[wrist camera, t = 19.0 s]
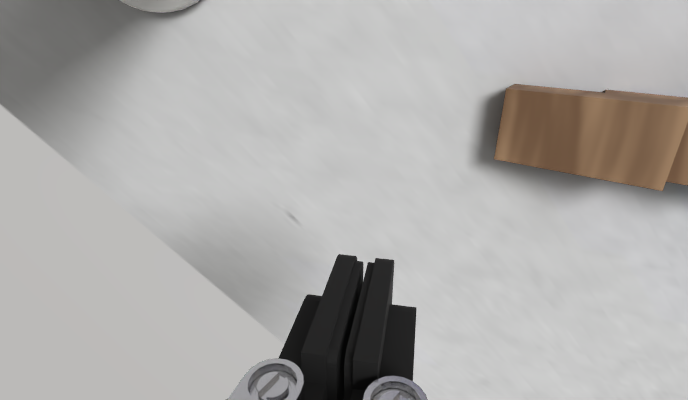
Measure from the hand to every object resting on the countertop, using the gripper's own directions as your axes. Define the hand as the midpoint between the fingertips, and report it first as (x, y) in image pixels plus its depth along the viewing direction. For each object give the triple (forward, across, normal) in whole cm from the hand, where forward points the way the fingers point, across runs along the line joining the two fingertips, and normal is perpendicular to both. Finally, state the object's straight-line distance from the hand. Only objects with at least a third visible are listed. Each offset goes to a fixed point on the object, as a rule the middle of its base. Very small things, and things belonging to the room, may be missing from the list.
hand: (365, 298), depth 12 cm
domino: (+21, -7, 0) cm, 22 cm away
